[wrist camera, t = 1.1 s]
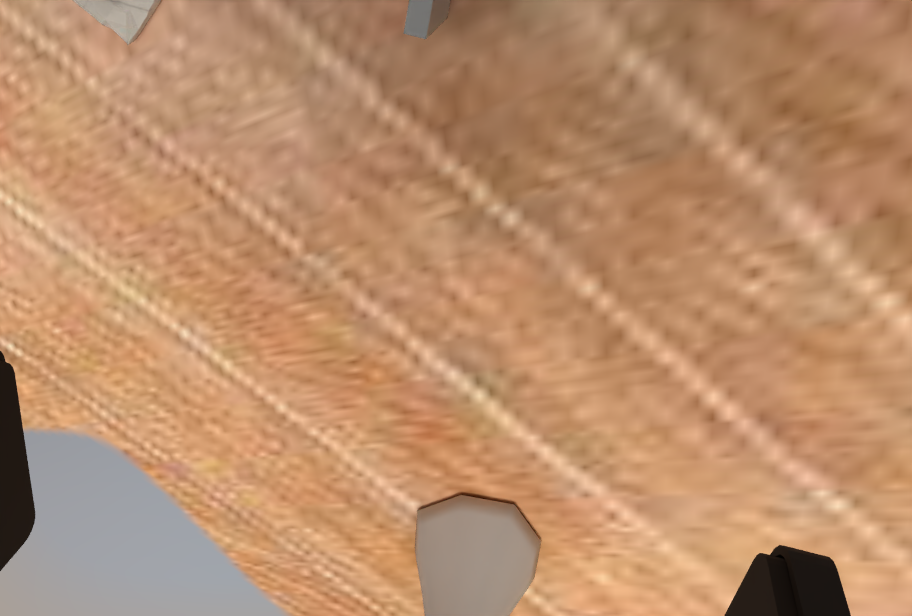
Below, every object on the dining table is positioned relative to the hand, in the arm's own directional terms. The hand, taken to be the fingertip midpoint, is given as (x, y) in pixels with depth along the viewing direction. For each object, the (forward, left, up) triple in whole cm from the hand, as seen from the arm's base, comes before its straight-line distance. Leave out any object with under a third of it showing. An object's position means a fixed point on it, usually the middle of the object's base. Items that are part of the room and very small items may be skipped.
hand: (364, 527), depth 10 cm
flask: (+26, +3, -25) cm, 36 cm away
